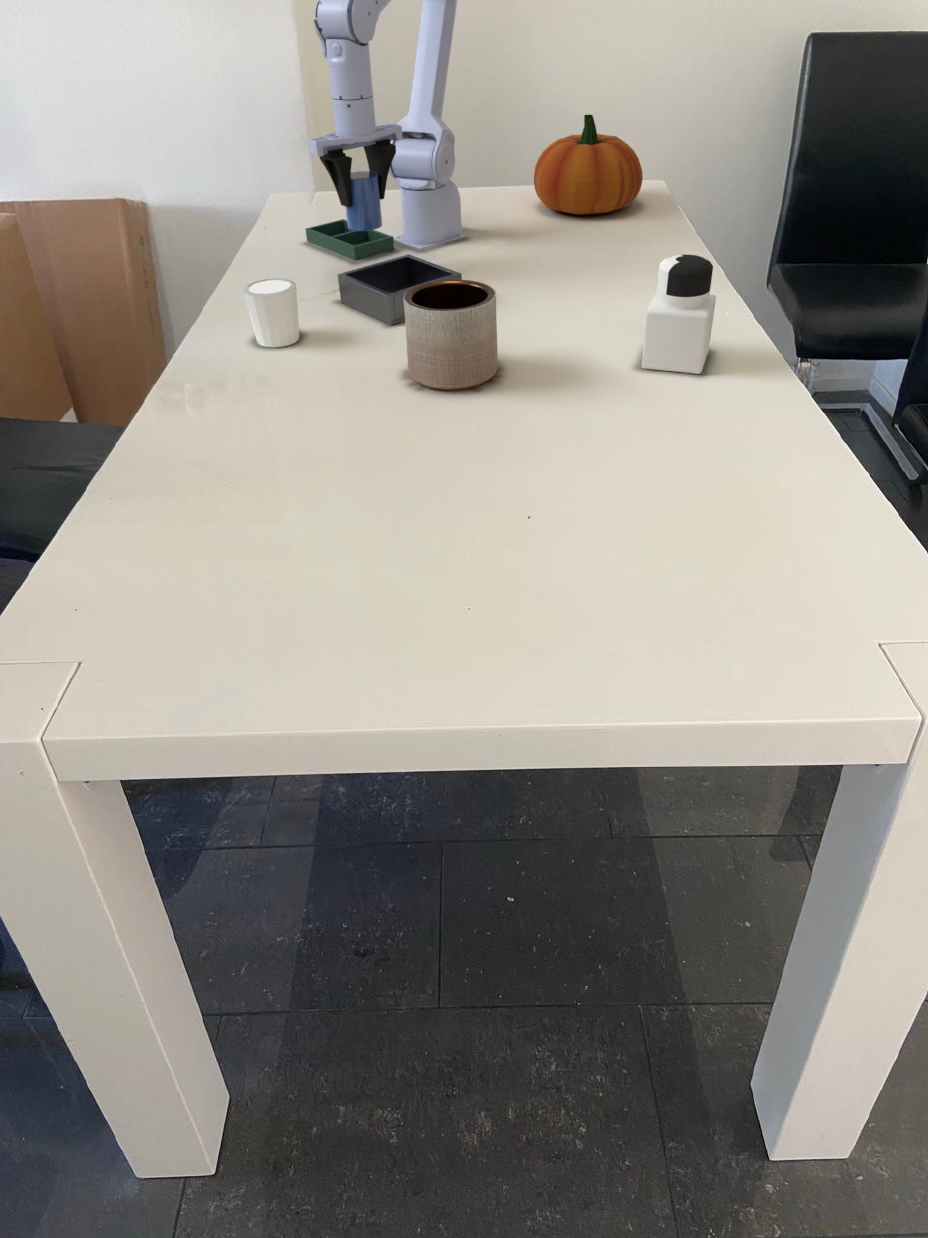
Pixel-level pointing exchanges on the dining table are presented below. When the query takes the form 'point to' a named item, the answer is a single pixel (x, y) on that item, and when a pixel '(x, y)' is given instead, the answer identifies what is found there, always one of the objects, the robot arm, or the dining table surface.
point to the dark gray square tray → (388, 285)
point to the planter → (451, 333)
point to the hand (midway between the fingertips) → (363, 201)
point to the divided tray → (349, 240)
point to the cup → (364, 202)
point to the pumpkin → (588, 173)
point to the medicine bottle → (680, 316)
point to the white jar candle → (273, 311)
